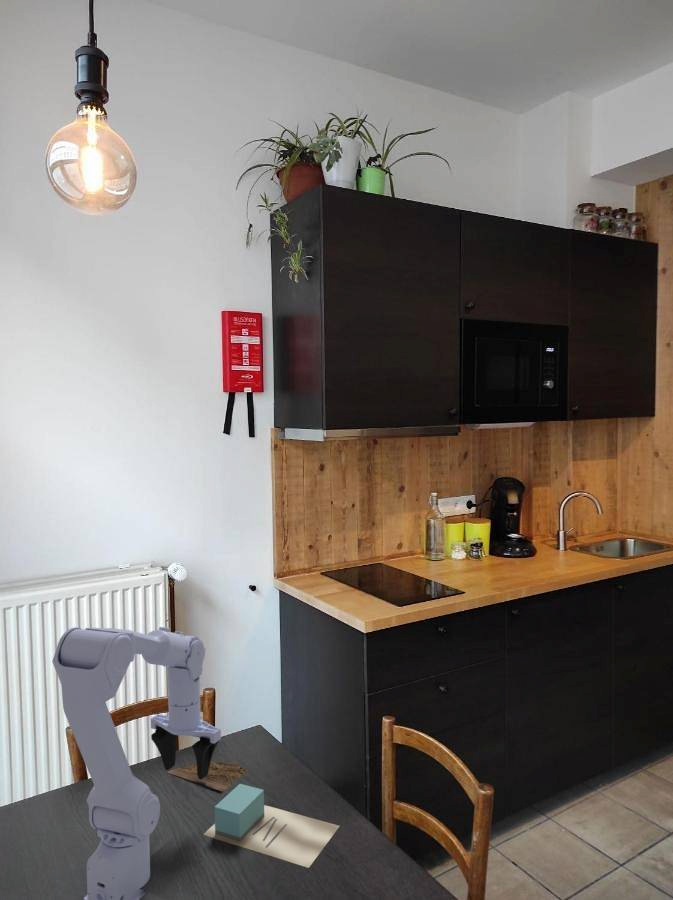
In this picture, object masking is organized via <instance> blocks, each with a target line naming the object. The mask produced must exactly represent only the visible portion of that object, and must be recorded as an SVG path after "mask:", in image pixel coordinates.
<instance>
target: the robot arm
mask: <svg viewBox="0 0 673 900" xmlns="http://www.w3.org/2000/svg"><path fill="white" fill-rule="evenodd" d="M204 644H205V643H204V642H203V640H201V639H200V637H198V636H192V635H184V632H183V631H174V632H172V631H171V628H170V627H166V626H165V627H164V626H160V627H159V628H158V629H154V630H151V631H150V632H148V633H147V634H146V633H143V632H138V631H134V630H130V629H122V628H114V627H112V628H111V627H85V628H84V629H82V628H81V627H71V628H68V629H67V630H66V631H64V633H62V636H61V637H60V639H59V641H58V643H57V646H56V649H55V652H54V655H53V658H52V664H53V667H54V669H55V671H56V674H57V676H58V680H59V682H60V685H61V699H62V708H63V712H64V715H65V718H66V720H67V723H68V725H69V727H70V729H71V732H72V734H73V737H74V739H75V743H76V744H77V747H78V749H79V752H80V754H81V756H82V758H83V761H84V764H85V766H86V768H87V769H86V770H87V771H88V774H89V776H90V778H91V781H92V783H93V787H92V788H91V790H90V792H89V794H88V796H87V797H86V798H87V799H86V803H87V806H88V819H89V825H90V826H91V827H92V829H96V830H97V838H100V841H99V844H98V845H97V848H96V849H95V851H93V853H92V854H91V855H90V856H89V858H88V859H87V862H86V887H87V888H86V890H87V894H86V895H85V896H84V897H83V900H141V899H142V898H143V897H144V896H145V895H147V893H148V891H147V890H145V889H142V888H143V887H144V886H145V885H146V884H147V883H148V882H149V880H150V878H151V856H150V853H151V852H150V835H151V834H152V833H153V832H154V831H155V829H156V826H157V824H158V822H159V819H160V816H161V804H160V799H159V797H158V796H157V795H156V794H154V793H153V792H152V791H151V789H150V786H149V785H148V784H146V783H145V782H144V781H142V780H140V779H139V778H138V777H136V776H135V775H134V774H133V772H132V770H131V767H130V764H129V762H128V759H127V756H126V753H125V750H124V748H123V746H122V742H121V740H120V737H119V735H118V732H117V729H116V726H115V724H114V722H113V719H112V716H111V714H110V711H109V707H108V705H107V702H108V701H109V700H111V699H114V698H115V697H116V694H117V692H118V690H119V688H120V686H121V684H122V682H123V679H124V677H125V676H126V673H127V671H128V669H129V666H130V664H131V663H132V662H133V661H134V659H135V656H136V655H141V656H142V658H143V660H144V661H145V662H147V663H148V664H150V665H155V666H162V667H166V668H167V696H168V697H167V701H168V703H167V704H168V706H167V707H168V715H166V714H165V715H164V714H158V713H157V714H155V715H154V716H152V717H151V718H150V729H152V730H155V732H153V733H152V734H151V735H150V739H151V740H152V742H153V743H154V745H155V746H156V748H157V750H158V753H159V755H160V758H161V761H162V764H163V766H164V770H165V771H170V770H171V768H174V766H175V765H176V744H177V737H178V736H182V737H183V736H186V737H187V736H190V737H194V738H197V739H199V740H198V741H196V742H195V743H194V744H192V745H191V746H192V747H191V748H192V750H193V752H194V756H195V760H196V765H197V774H198V779H203V778H204V777H205V776H207V775H208V771H209V766H210V762H212V759H213V754H214V752H215V750H216V747H217V745H218V743H219V742H220V740H221V739H222V735H221V733H222V732H221V728H219V727H216V726H213V725H212V724H210V723H208V722H207V721H204V720H203V716H202V715H201V712H202V711H201V681H200V676H201V675H202V672H203V662H204V661H205V657H206V647H205V645H204Z"/></svg>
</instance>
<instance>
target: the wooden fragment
mask: <svg viewBox="0 0 673 900" xmlns="http://www.w3.org/2000/svg"><path fill="white" fill-rule="evenodd" d="M248 770H249V768H246V767H244V766H240V765H239V764H238V763H237V762H232V761H225V762H213V761H211V762H210V766H209V771H208V775H207V776H205V777H204V778H203V779H198V774H197V764H193V765H188V766H186V767H180V768H174V769H169V770H167V772H166V773H168V774H170V775H173V776H177V777H180V778H182V779H185V780H188V781H191V782H194V783H198V784H201V785H204V786H207V787H209V788H211V789H214V790H218V791H219V792H221V793H224V792H225V791H226V790H227V789H229V788H230V786H232V784H233V783H235V782H236V781H237V780H238V779H239V778H241V777H242V776H243V775H244V774H245V773H246V772H247V771H248Z"/></svg>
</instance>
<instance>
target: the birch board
mask: <svg viewBox="0 0 673 900" xmlns="http://www.w3.org/2000/svg"><path fill="white" fill-rule="evenodd" d="M340 827H341V826H340V825H337V824H335V823H330V822H327V821H324V820H319V819H316V818H312V817H308V816H305V815H303V814H298V813H295V812H291V811H288V810H284V809H280V808H277V807H273V806H269V805H267V804H266V805H265V804H264V817H263V818H262V819H261V820H260V822H259V823H258V824H257V825H256V826H255V827H254V828H253V829H252V830H251V831H250V832H249V833H248V834H247V835H246V836H245V837H244V838H243V839H242V841H241V842H239V841H235V840H232V839H229V838H226V837H223V836H219V835H216V834H215V823H214V824H213V825H212V826H210V828H208V829H207V830H206V831H205V832H204V833H203V834H202V835H203V836H206V837H209V838H212V839H214V840H215V839H216V840H218V841H220V842H221V841H222V842H224V843H227V844H231V845H234V846H237V847H241V848H243V849H247V850H250V851H252V852H257V853H259V854H263V855H266V856H269V857H272V858H276V859H279V860H282V861H284V862H288V863H291V864H294V865H298V866H301V867H305V868H307V869H309V868H310V867H311V865H312V864H313V863H314V862H315V860H316V859H317V857H318V856H319V855H320V854H321V852H322V851H323V849H324V848H325V847H326V845H327V844H328V843H329V841H330V840H331V838H332V837H333V836H334V835H335V833H336V832H337V831H338V830H339V828H340Z"/></svg>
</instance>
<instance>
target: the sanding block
mask: <svg viewBox="0 0 673 900" xmlns="http://www.w3.org/2000/svg"><path fill="white" fill-rule="evenodd" d="M264 805H265V790H264V789H262V788H258V787H255V786H251V785H246V784H243V783H239V784H238V785H236V786H235V788H234V789H232V790H231V791H230V792H229V793H227V795H226V796H225V797H224V798H222V799H221V800H220V801H219V802H218V803H217V804H216V805H214V824H215V834H216V835H219V836H223V837H226V838H229V839H232V840H235V841H239V842H241V841H242V839H243V838H244V837H245V836H246V835H247V834H248V833H249V832H250V831H251V830H252V829H253V828H254V827H255V826H256V825H257V824H258V823H259V822H260V820H261V819H262V818H263V817H264Z"/></svg>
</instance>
